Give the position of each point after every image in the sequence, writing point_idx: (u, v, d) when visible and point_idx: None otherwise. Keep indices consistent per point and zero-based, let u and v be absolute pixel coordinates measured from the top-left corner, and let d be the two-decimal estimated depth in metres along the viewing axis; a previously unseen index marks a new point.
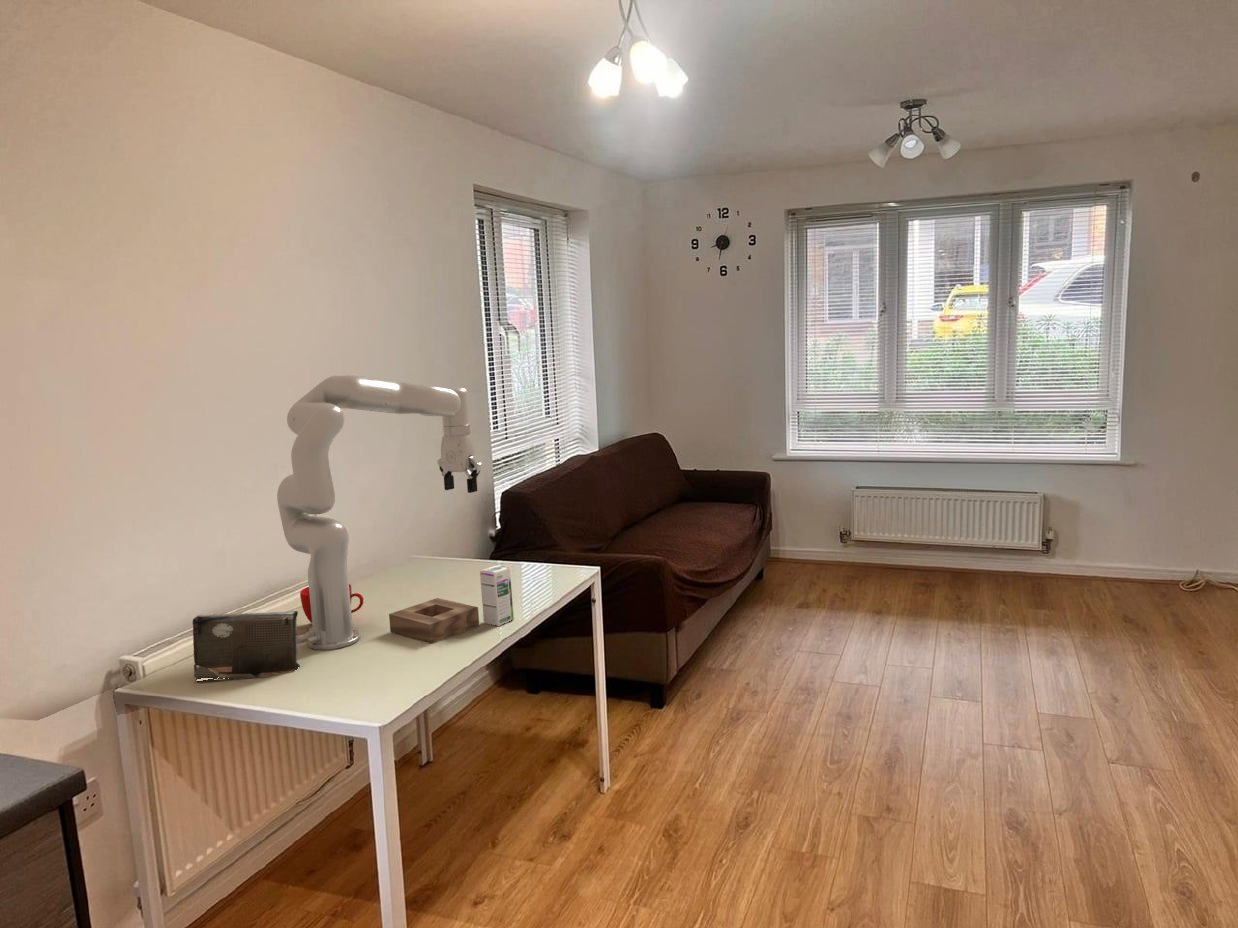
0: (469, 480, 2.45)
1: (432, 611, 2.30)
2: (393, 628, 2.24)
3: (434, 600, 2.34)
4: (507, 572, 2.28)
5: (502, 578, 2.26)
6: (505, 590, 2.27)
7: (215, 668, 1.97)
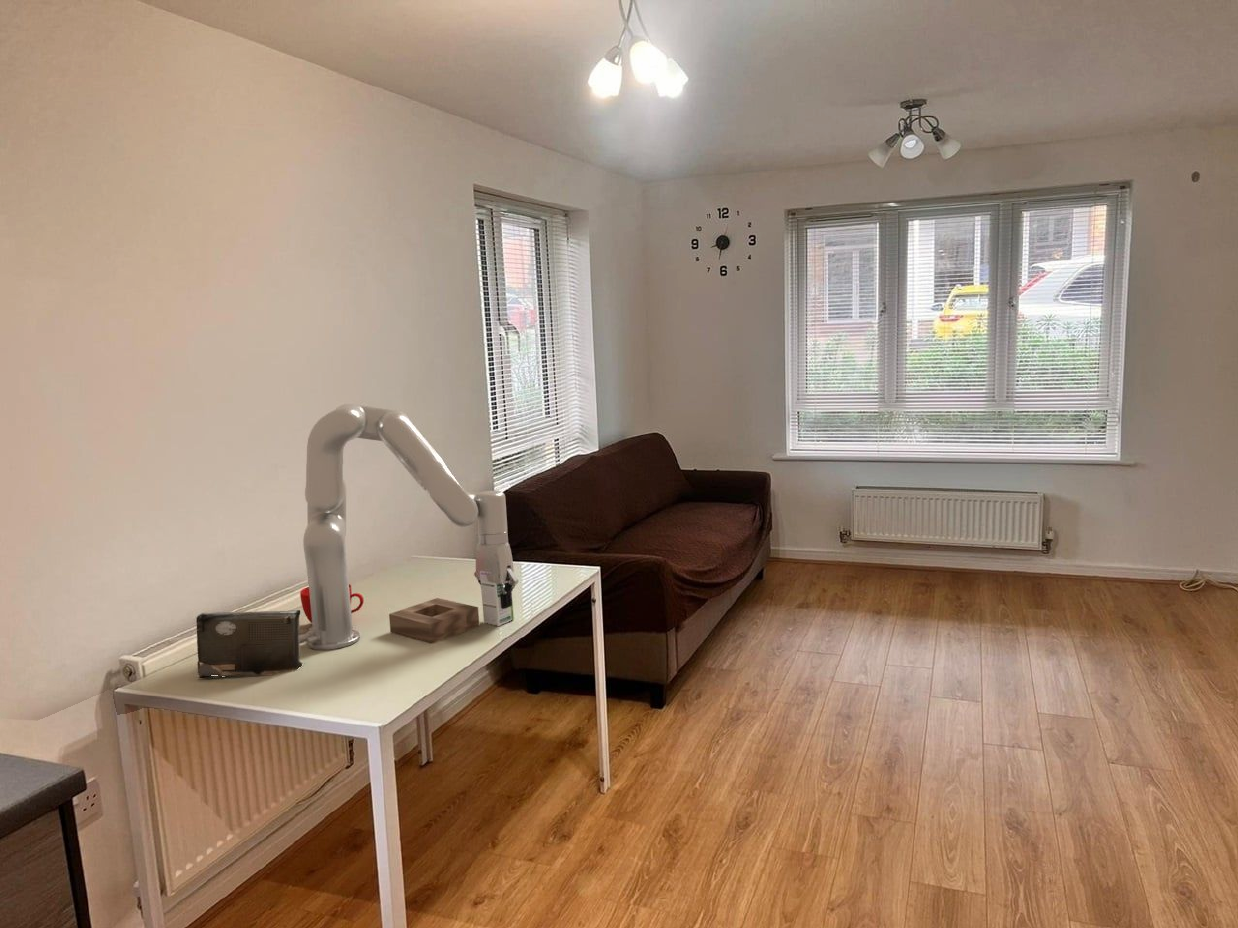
0: (503, 595, 2.26)
1: (432, 611, 2.30)
2: (393, 628, 2.24)
3: (434, 600, 2.34)
4: None
5: None
6: None
7: (218, 665, 1.98)
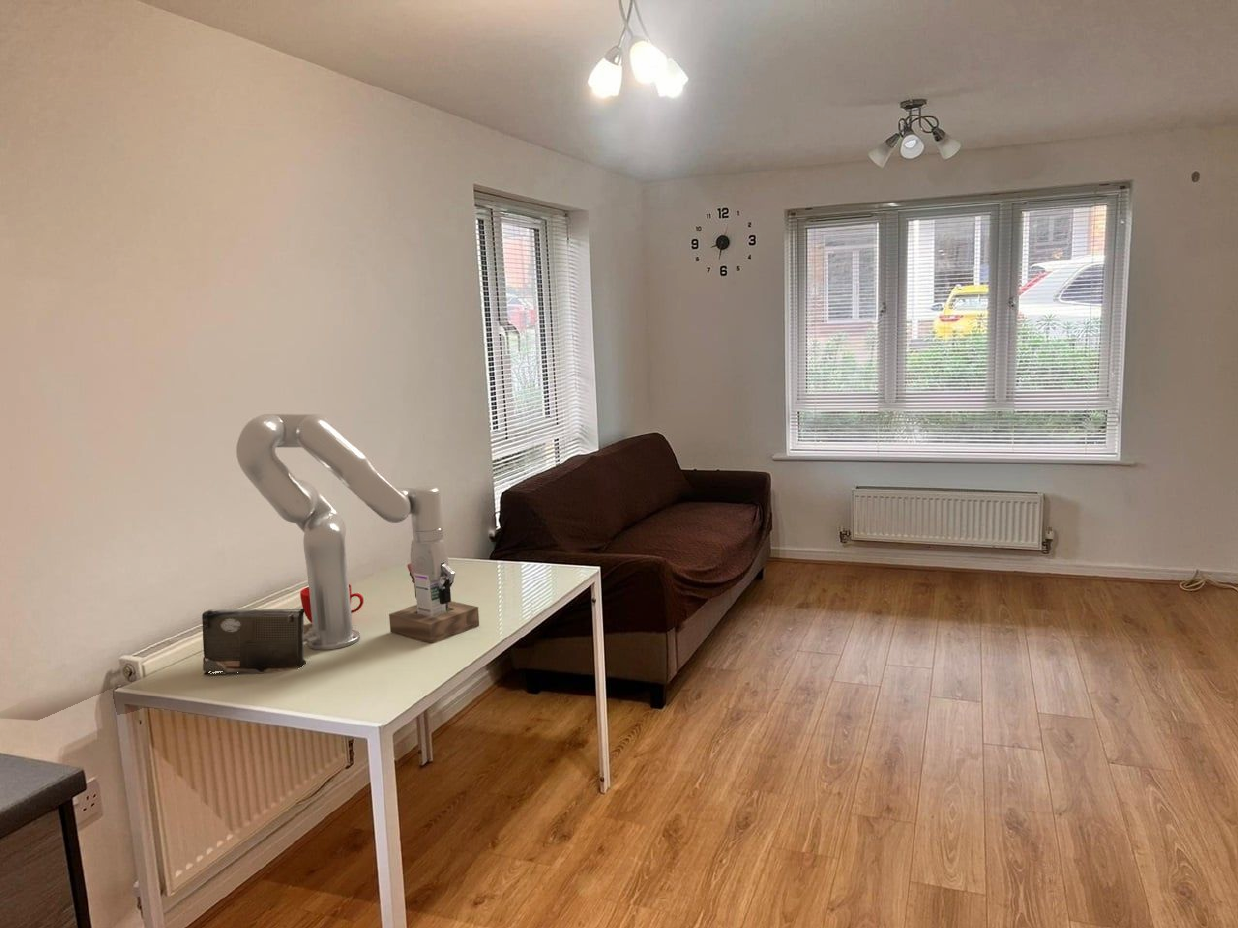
0: (441, 590, 2.20)
1: None
2: (393, 628, 2.24)
3: None
4: None
5: None
6: None
7: (223, 662, 2.00)
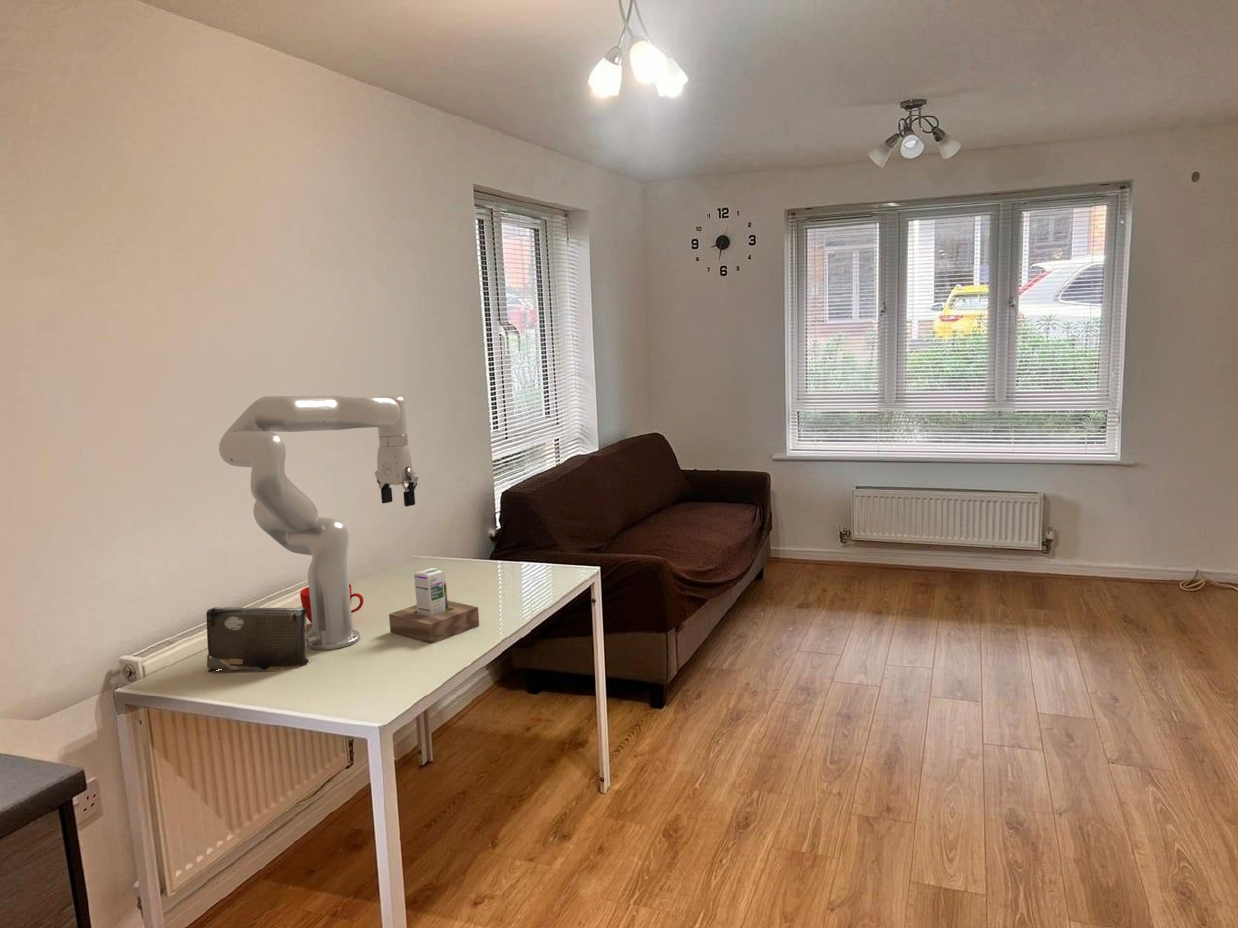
0: (406, 493, 2.33)
1: None
2: (393, 628, 2.24)
3: None
4: (442, 574, 2.24)
5: (437, 581, 2.22)
6: (439, 593, 2.23)
7: (227, 660, 2.02)
